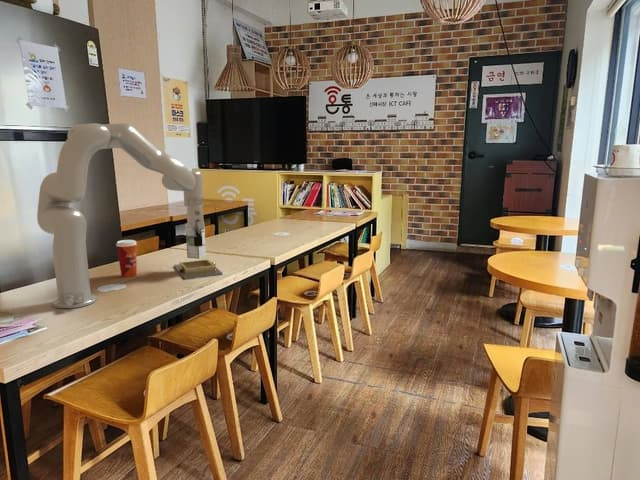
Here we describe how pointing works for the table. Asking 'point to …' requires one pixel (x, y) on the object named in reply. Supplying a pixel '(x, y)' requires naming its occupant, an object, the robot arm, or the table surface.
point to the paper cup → (127, 257)
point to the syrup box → (191, 249)
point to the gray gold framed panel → (197, 269)
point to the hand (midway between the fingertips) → (195, 243)
